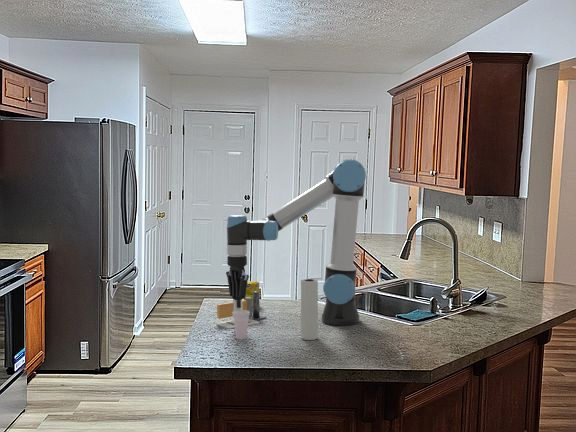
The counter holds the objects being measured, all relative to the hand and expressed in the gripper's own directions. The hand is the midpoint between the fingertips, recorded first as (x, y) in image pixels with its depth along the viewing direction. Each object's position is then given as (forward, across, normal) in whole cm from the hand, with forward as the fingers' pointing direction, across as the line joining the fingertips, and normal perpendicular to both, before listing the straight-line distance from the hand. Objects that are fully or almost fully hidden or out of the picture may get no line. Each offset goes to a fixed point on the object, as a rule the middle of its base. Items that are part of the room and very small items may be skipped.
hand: (237, 315), depth 255 cm
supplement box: (+5, +28, -25) cm, 38 cm away
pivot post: (+5, +8, -14) cm, 17 cm away
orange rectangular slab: (+4, +8, -4) cm, 9 cm away
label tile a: (+5, +4, -7) cm, 9 cm away
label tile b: (+5, +4, +2) cm, 6 cm away
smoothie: (+5, -15, +8) cm, 18 cm away
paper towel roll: (+5, -30, -12) cm, 33 cm away
